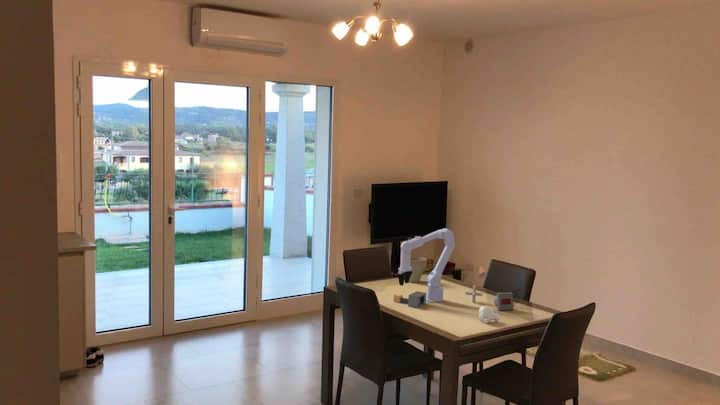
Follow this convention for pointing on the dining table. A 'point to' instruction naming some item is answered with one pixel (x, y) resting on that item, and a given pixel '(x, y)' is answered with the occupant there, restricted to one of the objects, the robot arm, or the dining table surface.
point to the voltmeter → (505, 301)
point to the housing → (416, 299)
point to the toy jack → (474, 294)
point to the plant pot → (416, 268)
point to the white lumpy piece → (488, 314)
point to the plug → (401, 299)
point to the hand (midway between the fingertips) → (404, 284)
